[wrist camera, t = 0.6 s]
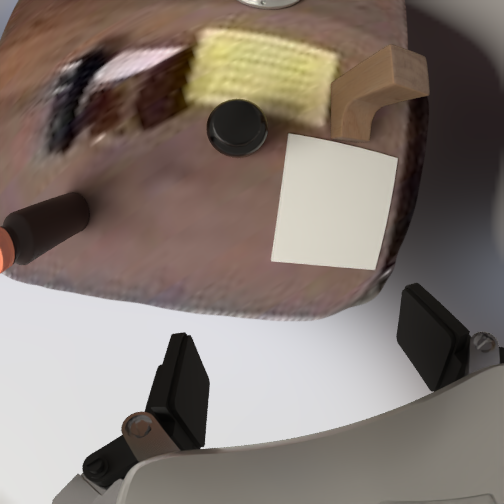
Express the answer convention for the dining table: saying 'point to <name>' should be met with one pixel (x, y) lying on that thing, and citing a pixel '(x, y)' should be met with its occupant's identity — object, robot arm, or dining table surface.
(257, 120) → the supplement bottle
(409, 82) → the wooden block
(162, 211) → the dining table surface
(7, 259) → the vinegar
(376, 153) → the off-white mat
